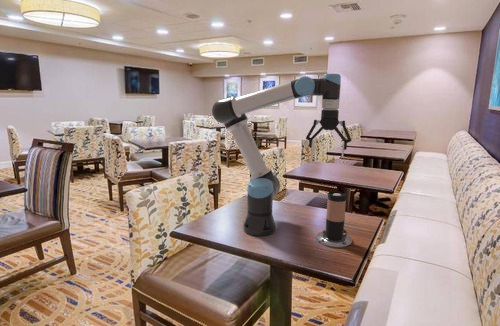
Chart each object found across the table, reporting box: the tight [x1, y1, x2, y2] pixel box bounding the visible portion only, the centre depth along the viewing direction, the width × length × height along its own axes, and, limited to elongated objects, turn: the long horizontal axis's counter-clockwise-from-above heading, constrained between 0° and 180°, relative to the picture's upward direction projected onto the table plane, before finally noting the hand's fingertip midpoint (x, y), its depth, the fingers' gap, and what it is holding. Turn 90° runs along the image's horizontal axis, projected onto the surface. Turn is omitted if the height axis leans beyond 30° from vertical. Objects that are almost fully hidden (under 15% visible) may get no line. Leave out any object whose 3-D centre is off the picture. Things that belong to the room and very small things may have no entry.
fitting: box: [316, 229, 353, 249], centre depth 142 cm, size 15×22×6 cm
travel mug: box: [325, 190, 347, 241], centre depth 137 cm, size 8×8×20 cm
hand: (327, 155), depth 147 cm, fingers open, 13 cm apart
